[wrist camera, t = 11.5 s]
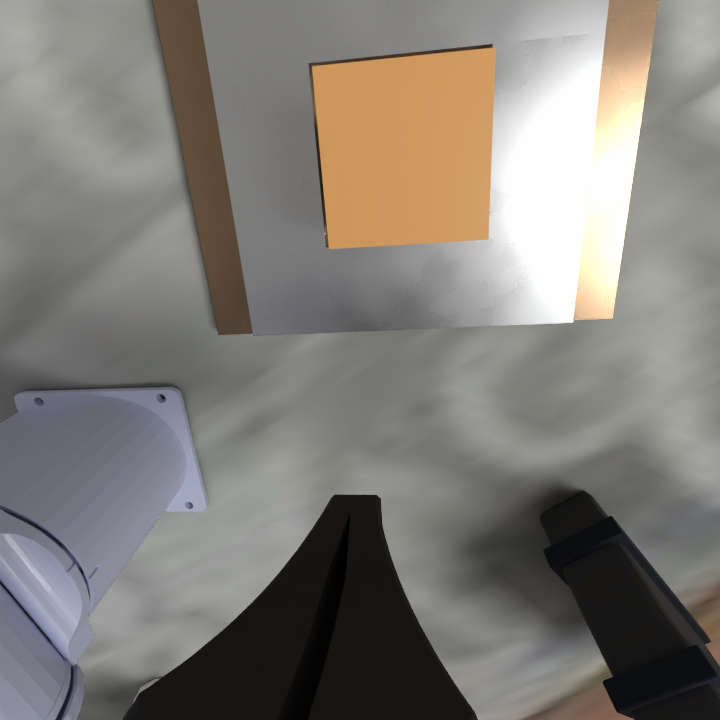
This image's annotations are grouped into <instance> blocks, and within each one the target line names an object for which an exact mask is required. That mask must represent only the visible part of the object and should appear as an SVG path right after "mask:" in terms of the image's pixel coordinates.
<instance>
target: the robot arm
mask: <svg viewBox="0 0 720 720" xmlns="http://www.w3.org/2000/svg"><path fill="white" fill-rule="evenodd" d="M160 394H162V395H164V396H165V398H166V400H165V399H162V398H161V396H160ZM40 398H41V399H42V400H43V402H42V401H41V399H40ZM14 402H15V405H16V407H17V410H18V412H17V413H16V414H14V415H12V416H11V417H9V418H7V419H6V420H4V421H2V422H1V423H0V720H76V719H77V717H78V714H79V712H80V709H81V706H82V702H83V698H84V693H85V679H84V674H83V672H82V670H81V668H80V667H79V666H78V665H77V664H76V663H77V662H78V660H79V659H80V657H81V656H82V654H83V653H84V651H85V650H86V648H87V647H88V645H89V644H90V642H91V641H92V639H93V638H94V636H95V633H94V632H93V630H92V628H91V627H90V624H89V622H88V617H89V616H90V614H91V613H92V611H93V610H94V609H95V607H96V606H97V605H98V603H99V602H100V600H101V599H102V598H103V596H104V595H105V593H106V592H107V591H108V589H109V588H110V586H111V585H112V584H113V582H114V581H115V579H116V578H117V577H118V575H119V574H120V572H121V571H122V570H123V568H124V567H125V566H126V564H127V563H128V561H129V560H130V559H131V557H132V556H133V554H134V553H135V552H136V550H137V549H138V547H139V546H140V545H141V543H142V542H143V540H144V539H145V538H146V536H147V535H148V534H149V532H150V531H151V529H152V528H153V527H154V525H155V524H156V522H157V521H158V520H159V518H160V517H161V515H162V514H163V513H164V512H201V511H203V510H205V508H206V507H207V505H208V500H207V496H206V492H205V488H204V484H203V480H202V475H201V471H200V467H199V463H198V459H197V455H196V451H195V447H194V442H193V438H192V434H191V430H190V426H189V422H188V418H187V413H186V409H185V405H184V401H183V397H182V394H181V392H180V391H179V390H178V389H177V388H175V387H149V388H115V389H82V390H48V391H23V392H20V393H18V394H17V395H15V397H14ZM189 502H191V503H192V504H193V505H192V504H190V503H189ZM123 720H478V719H477V716H476V714H475V712H474V711H473V709H472V708H471V706H470V705H469V704H468V702H467V701H466V699H465V698H464V696H463V695H462V694H461V692H460V691H459V689H458V688H457V686H456V685H455V683H454V682H453V680H452V679H451V677H450V676H449V674H448V672H447V671H446V669H445V668H444V666H443V664H442V663H441V661H440V660H439V658H438V656H437V654H436V653H435V651H434V649H433V647H432V646H431V644H430V642H429V640H428V639H427V637H426V635H425V633H424V631H423V630H422V628H421V626H420V624H419V622H418V620H417V618H416V616H415V614H414V612H413V610H412V608H411V606H410V604H409V601H408V599H407V597H406V595H405V592H404V590H403V588H402V585H401V583H400V580H399V578H398V575H397V572H396V570H395V567H394V564H393V561H392V559H391V556H390V552H389V549H388V545H387V542H386V539H385V535H384V531H383V526H382V513H381V498H379V497H378V496H377V495H334V496H333V497H332V498H331V499H330V501H329V503H328V505H327V506H326V508H325V510H324V511H323V513H322V515H321V516H320V518H319V519H318V521H317V522H316V524H315V525H314V527H313V529H312V530H311V531H310V533H309V534H308V536H307V537H306V538H305V540H304V541H303V543H302V544H301V546H300V547H299V548H298V550H297V551H296V552H295V554H294V555H293V556H292V557H291V559H290V560H289V561H288V562H287V564H286V565H285V566H284V568H283V569H282V570H281V571H280V572H279V574H278V575H277V576H276V577H275V578H274V580H273V581H272V582H271V583H270V584H269V585H268V586H267V587H266V589H265V590H264V591H263V592H262V593H261V594H260V595H259V596H258V597H257V598H256V599H255V600H254V601H253V602H252V603H251V604H250V605H249V606H248V607H247V608H246V609H245V610H244V611H243V612H242V613H241V614H240V615H239V616H238V617H237V618H236V619H235V620H234V621H233V622H231V623H230V624H229V625H228V626H227V627H226V628H225V629H224V630H223V631H221V632H220V633H219V634H218V635H217V636H215V637H214V638H213V639H212V640H211V641H209V642H208V643H207V644H206V645H205V646H203V647H202V648H201V649H200V650H199V651H197V652H196V653H195V654H194V655H192V656H191V657H190V658H189V659H187V660H186V661H185V662H183V663H182V664H181V665H179V666H178V667H176V668H175V669H174V670H172V671H171V672H169V673H168V674H166V675H165V676H164V677H162V678H161V679H159V680H158V681H156V682H155V683H154V684H152V685H151V686H149V687H148V688H146V689H145V690H143V691H142V692H140V693H139V694H138V696H137V698H136V699H135V701H134V703H133V704H132V706H131V707H130V709H129V710H128V712H127V713H126V715H125V716H124V718H123Z"/></svg>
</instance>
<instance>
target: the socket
mask: <svg viewBox="0 0 720 720" xmlns="http://www.w3.org/2000/svg"><path fill="white" fill-rule="evenodd" d="M658 2H659V0H153V5H154V10H155V16H156V21H157V26H158V31H159V36H160V41H161V46H162V51H163V56H164V61H165V66H166V71H167V76H168V81H169V87H170V92H171V97H172V102H173V107H174V112H175V117H176V122H177V127H178V132H179V137H180V142H181V147H182V152H183V158H184V163H185V168H186V173H187V178H188V183H189V188H190V193H191V198H192V203H193V208H194V213H195V218H196V223H197V228H198V234H199V239H200V244H201V249H202V254H203V259H204V264H205V269H206V274H207V279H208V284H209V289H210V294H211V299H212V305H213V310H214V315H215V320H216V325H217V330H218V335H228V334H252V333H253V336H261V335H285V334H310V333H334V332H358V331H382V330H406V329H430V328H454V327H479V326H503V325H527V324H551V323H573V320H585V319H609V318H612V317H613V310H614V304H615V297H616V290H617V283H618V276H619V269H620V263H621V256H622V249H623V242H624V235H625V228H626V221H627V215H628V208H629V201H630V194H631V187H632V180H633V174H634V167H635V160H636V153H637V146H638V139H639V132H640V126H641V119H642V112H643V105H644V98H645V91H646V85H647V78H648V71H649V64H650V57H651V50H652V43H653V37H654V30H655V23H656V16H657V9H658ZM494 47H496V54H495V81H494V107H493V134H492V161H491V188H490V215H489V240H474V241H458V242H441V243H424V244H408V245H391V246H375V247H358V248H341V249H329V244H328V234H327V223H326V212H325V201H324V190H323V180H322V169H321V158H320V147H319V136H318V126H317V115H316V104H315V93H314V82H313V72H312V66H320V65H330V64H340V63H349V62H359V61H369V60H378V59H388V58H398V57H407V56H417V55H427V54H436V53H446V52H456V51H465V50H475V49H485V48H494Z"/></svg>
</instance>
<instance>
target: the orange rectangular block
mask: <svg viewBox="0 0 720 720" xmlns="http://www.w3.org/2000/svg"><path fill="white" fill-rule="evenodd" d="M495 54H496V47H494V48H485V49H475V50H465V51H456V52H446V53H436V54H427V55H417V56H407V57H398V58H388V59H378V60H369V61H359V62H349V63H340V64H330V65H320V66H312V72H313V82H314V93H315V104H316V115H317V126H318V136H319V147H320V158H321V169H322V180H323V190H324V201H325V212H326V223H327V234H328V244H329V249H341V248H358V247H375V246H391V245H408V244H424V243H441V242H458V241H474V240H489V215H490V188H491V161H492V134H493V107H494V81H495Z"/></svg>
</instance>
